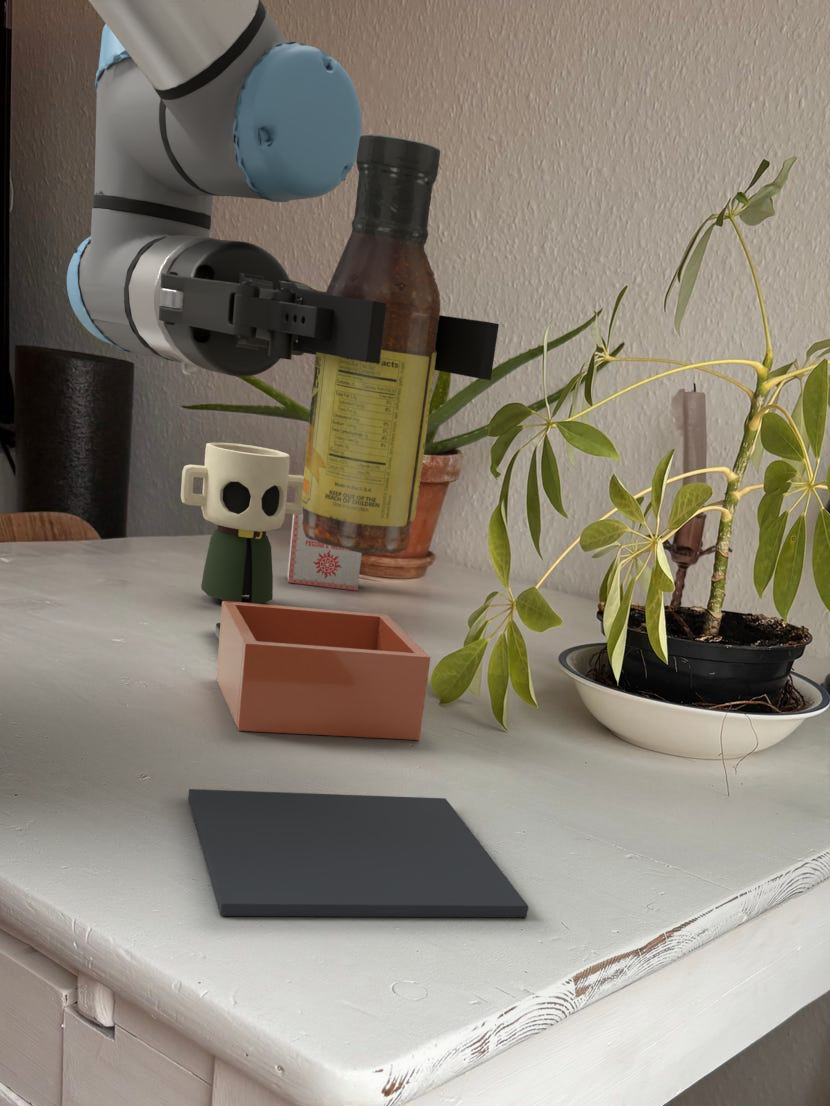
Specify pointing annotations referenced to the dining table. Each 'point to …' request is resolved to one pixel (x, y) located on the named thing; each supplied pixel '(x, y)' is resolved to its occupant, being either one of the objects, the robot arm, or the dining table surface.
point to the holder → (320, 672)
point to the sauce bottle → (370, 388)
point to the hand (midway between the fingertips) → (434, 342)
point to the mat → (346, 857)
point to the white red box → (321, 561)
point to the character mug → (241, 516)
